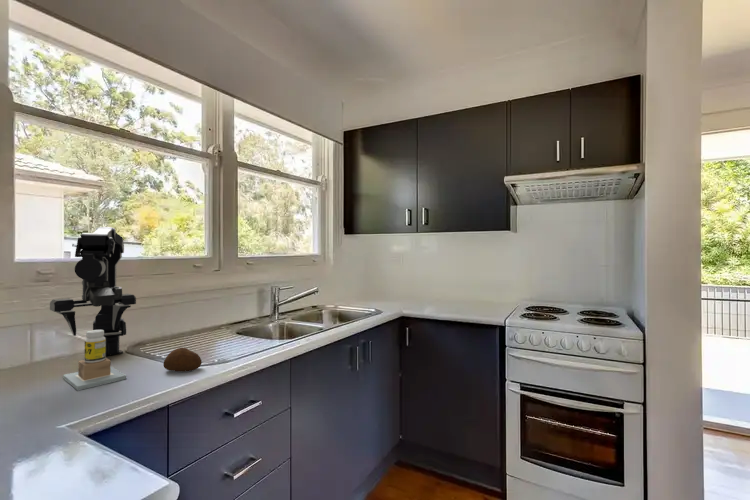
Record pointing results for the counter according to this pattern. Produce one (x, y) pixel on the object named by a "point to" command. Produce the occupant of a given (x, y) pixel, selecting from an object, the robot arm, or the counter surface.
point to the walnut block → (93, 369)
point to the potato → (182, 360)
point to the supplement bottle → (95, 346)
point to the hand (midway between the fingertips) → (95, 332)
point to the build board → (93, 379)
